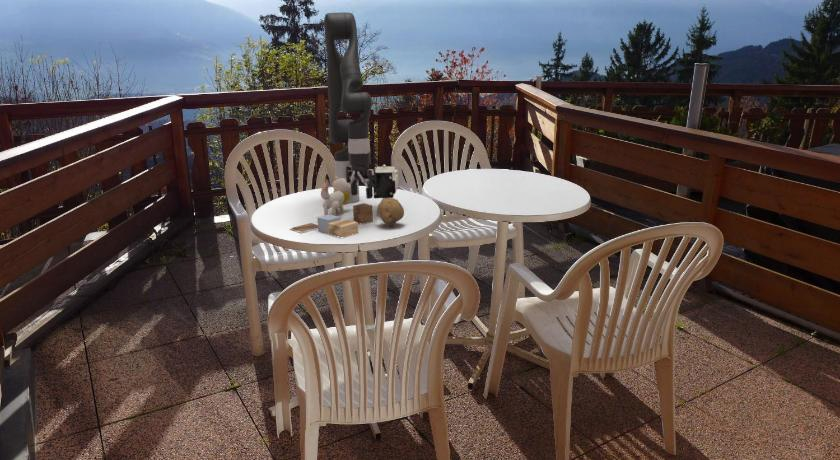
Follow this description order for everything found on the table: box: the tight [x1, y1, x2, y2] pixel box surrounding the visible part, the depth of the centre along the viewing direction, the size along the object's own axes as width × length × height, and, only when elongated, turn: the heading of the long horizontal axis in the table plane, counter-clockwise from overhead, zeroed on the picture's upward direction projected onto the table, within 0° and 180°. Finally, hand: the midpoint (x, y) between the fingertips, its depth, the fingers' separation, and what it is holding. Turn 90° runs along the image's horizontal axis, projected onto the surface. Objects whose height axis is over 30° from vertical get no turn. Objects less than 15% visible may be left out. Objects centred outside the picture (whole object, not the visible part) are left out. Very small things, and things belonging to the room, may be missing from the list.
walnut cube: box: [352, 202, 374, 225], centre depth 206 cm, size 5×5×6 cm
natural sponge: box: [377, 197, 405, 227], centre depth 199 cm, size 9×9×10 cm
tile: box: [289, 222, 318, 234], centre depth 200 cm, size 7×9×1 cm
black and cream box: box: [372, 164, 400, 202], centre depth 218 cm, size 18×8×18 cm, turn 177°
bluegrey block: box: [316, 213, 341, 234], centre depth 196 cm, size 5×5×6 cm
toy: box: [320, 175, 351, 216], centre depth 214 cm, size 9×19×15 cm, turn 161°
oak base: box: [328, 218, 359, 238], centre depth 192 cm, size 7×7×4 cm
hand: (362, 196), depth 204 cm, fingers open, 8 cm apart
